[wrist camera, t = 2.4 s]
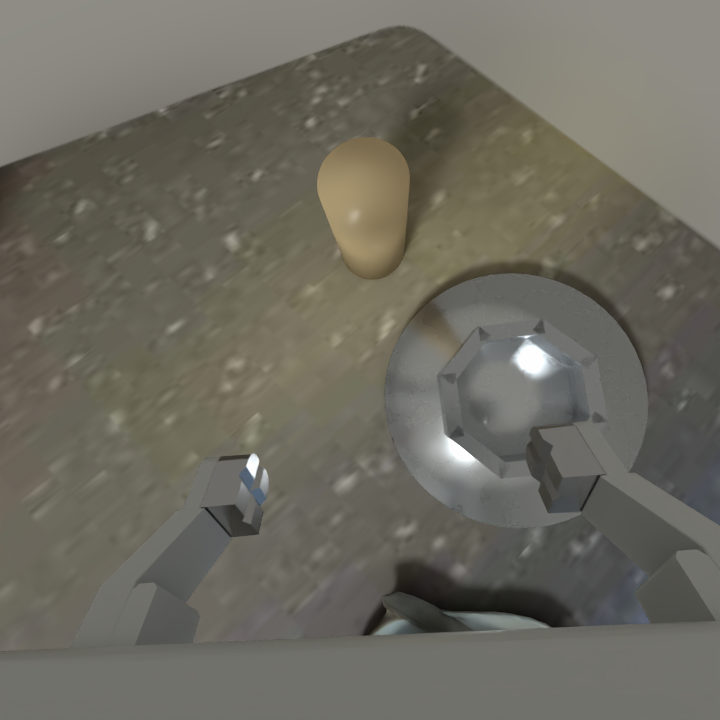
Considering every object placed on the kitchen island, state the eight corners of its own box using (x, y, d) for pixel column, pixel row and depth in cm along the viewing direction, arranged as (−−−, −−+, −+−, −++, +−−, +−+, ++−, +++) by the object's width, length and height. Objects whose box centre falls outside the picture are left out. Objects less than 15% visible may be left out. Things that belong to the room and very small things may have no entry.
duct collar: (337, 414, 27) (330, 418, 24) (481, 232, 27) (492, 212, 24) (534, 576, 24) (554, 603, 21) (691, 376, 24) (733, 374, 21)
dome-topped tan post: (329, 255, 28) (298, 191, 19) (367, 206, 28) (355, 120, 19) (378, 291, 27) (370, 244, 18) (417, 242, 27) (429, 169, 18)
